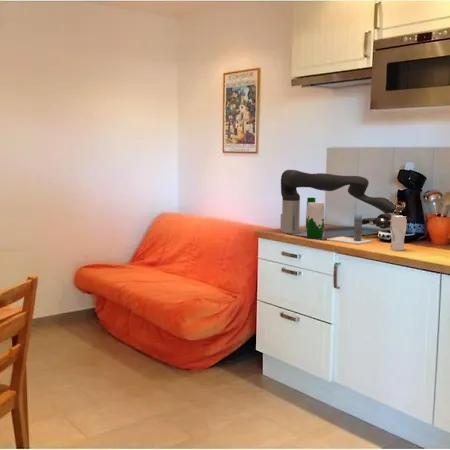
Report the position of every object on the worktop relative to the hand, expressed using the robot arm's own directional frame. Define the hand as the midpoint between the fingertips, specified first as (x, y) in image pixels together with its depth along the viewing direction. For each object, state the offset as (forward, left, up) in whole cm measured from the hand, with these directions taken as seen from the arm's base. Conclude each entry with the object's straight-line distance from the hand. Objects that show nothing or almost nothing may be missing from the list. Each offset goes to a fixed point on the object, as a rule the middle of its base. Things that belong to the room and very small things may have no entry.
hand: (369, 223), depth 283 cm
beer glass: (+24, -13, -8) cm, 29 cm away
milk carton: (-22, -14, -8) cm, 28 cm away
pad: (-4, -10, -8) cm, 14 cm away
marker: (0, -9, -8) cm, 12 cm away
